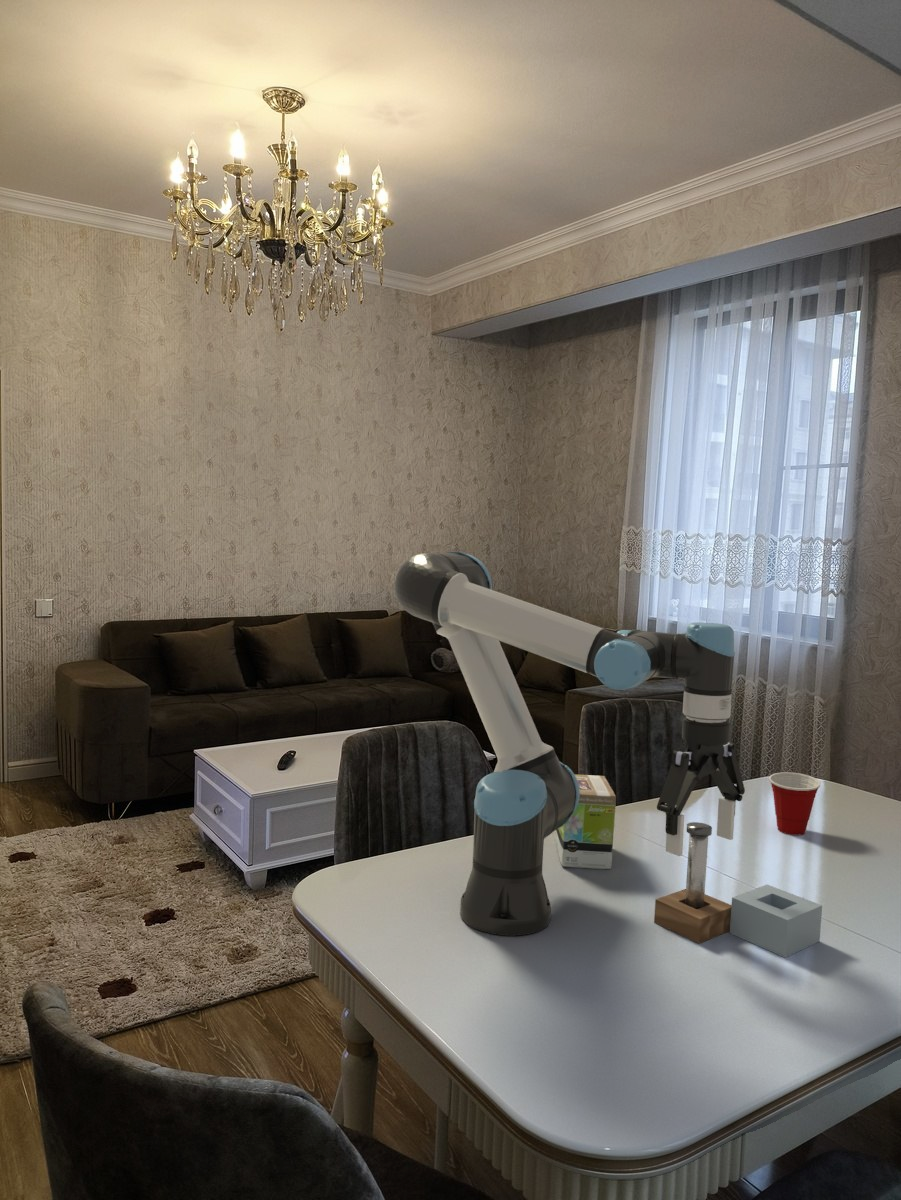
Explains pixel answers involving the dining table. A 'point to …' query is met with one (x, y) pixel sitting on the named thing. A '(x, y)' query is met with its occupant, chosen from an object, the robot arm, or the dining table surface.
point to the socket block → (776, 920)
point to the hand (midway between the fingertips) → (700, 845)
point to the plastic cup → (793, 800)
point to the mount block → (693, 916)
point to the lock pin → (697, 863)
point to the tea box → (589, 826)
